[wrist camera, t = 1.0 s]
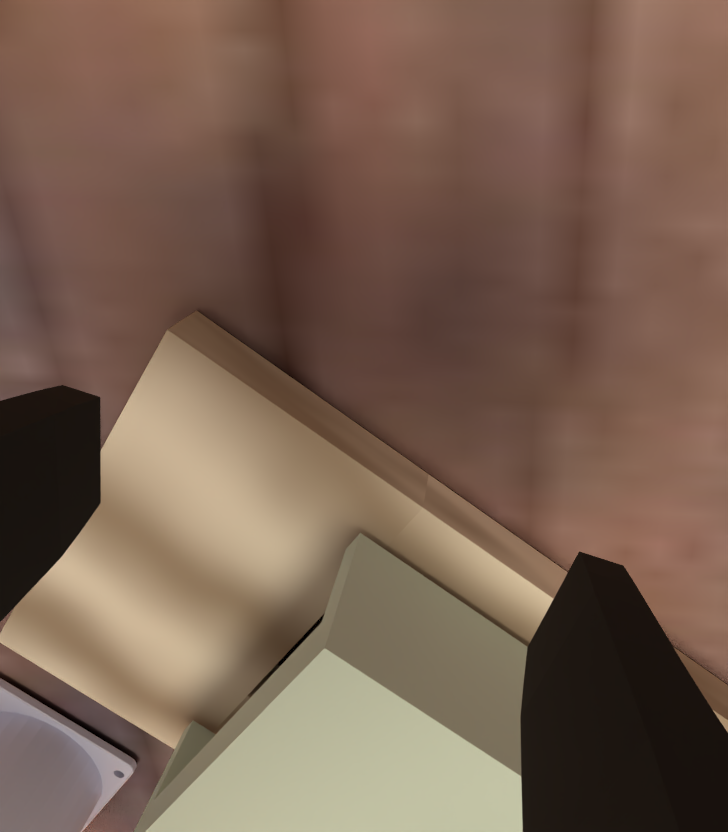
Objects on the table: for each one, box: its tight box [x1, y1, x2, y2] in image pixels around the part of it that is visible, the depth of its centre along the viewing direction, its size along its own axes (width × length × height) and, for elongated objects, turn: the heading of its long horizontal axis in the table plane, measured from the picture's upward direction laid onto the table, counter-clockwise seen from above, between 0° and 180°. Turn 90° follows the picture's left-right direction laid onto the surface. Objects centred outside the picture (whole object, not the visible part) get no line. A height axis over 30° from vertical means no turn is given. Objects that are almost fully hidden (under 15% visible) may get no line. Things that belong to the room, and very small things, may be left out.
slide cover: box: [134, 533, 527, 832], centre depth 20 cm, size 12×8×6 cm, turn 145°
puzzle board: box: [0, 311, 728, 749], centre depth 23 cm, size 16×26×2 cm, turn 55°
